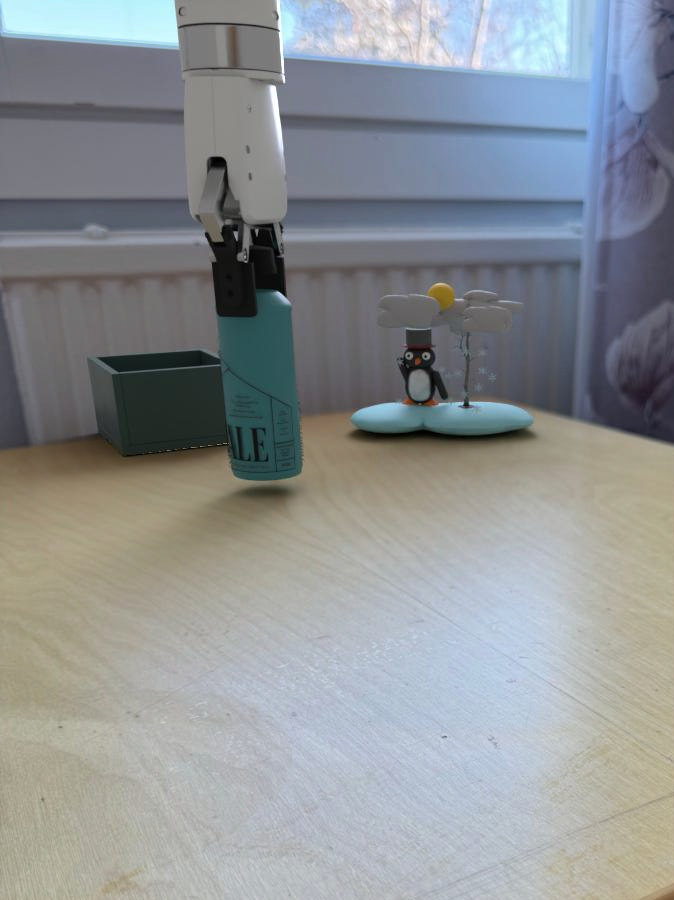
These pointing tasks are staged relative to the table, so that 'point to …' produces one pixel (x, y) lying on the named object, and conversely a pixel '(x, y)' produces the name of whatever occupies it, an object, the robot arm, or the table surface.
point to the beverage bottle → (261, 384)
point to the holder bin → (159, 400)
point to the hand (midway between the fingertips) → (253, 309)
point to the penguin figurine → (423, 380)
